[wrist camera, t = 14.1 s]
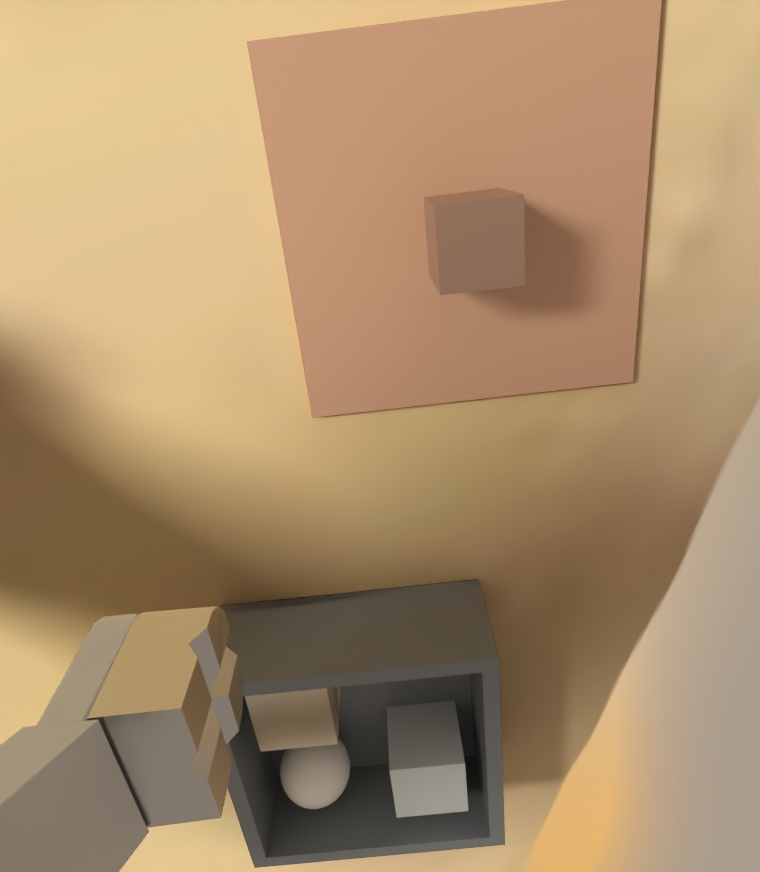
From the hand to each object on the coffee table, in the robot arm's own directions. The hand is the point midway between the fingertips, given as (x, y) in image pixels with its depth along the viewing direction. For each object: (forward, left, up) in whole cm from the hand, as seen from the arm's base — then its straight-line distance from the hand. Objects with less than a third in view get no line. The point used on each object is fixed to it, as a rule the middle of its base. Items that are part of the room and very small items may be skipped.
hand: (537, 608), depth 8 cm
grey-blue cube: (+26, -2, -19) cm, 32 cm away
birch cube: (+19, -8, -19) cm, 28 cm away
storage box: (+23, -5, -20) cm, 30 cm away
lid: (-2, +2, -20) cm, 20 cm away
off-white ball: (+26, -8, -19) cm, 33 cm away
